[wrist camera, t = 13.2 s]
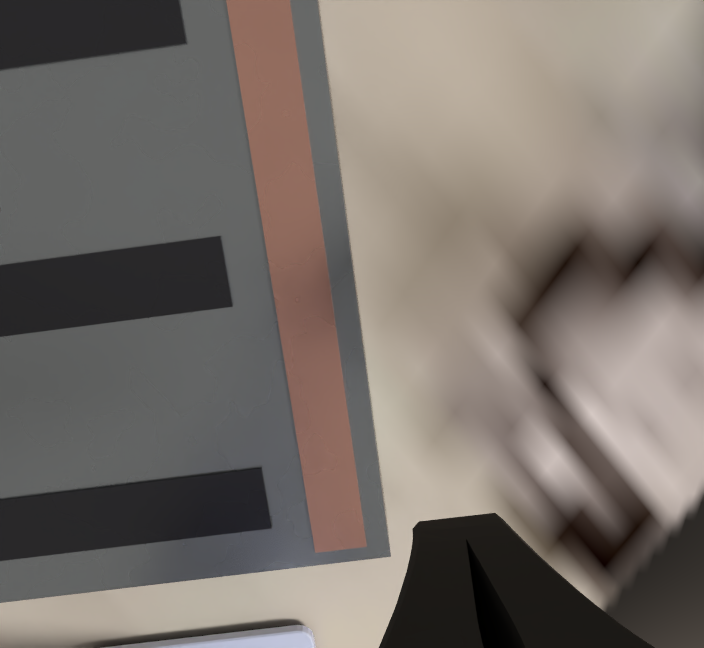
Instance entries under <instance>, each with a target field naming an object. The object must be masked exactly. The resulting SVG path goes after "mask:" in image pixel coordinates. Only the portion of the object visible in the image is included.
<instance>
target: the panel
mask: <svg viewBox="0 0 704 648" xmlns="http://www.w3.org/2000/svg"><path fill="white" fill-rule="evenodd" d="M382 557H391V554H390V544H389V535H388V526H387V519H386V511H385V503H384V496H383V488H382V481H381V473H380V465H379V458H378V450H377V443H376V435H375V428H374V420H373V412H372V405H371V397H370V390H369V382H368V374H367V367H366V359H365V352H364V344H363V336H362V329H361V321H360V314H359V306H358V298H357V291H356V283H355V276H354V268H353V260H352V253H351V245H350V238H349V230H348V222H347V215H346V207H345V200H344V192H343V184H342V177H341V169H340V162H339V154H338V146H337V139H336V131H335V124H334V116H333V108H332V101H331V93H330V86H329V78H328V70H327V63H326V55H325V48H324V40H323V32H322V25H321V17H320V10H319V2H318V0H0V603H2V602H11V601H19V600H27V599H36V598H44V597H53V596H61V595H70V594H78V593H87V592H95V591H104V590H112V589H120V588H129V587H137V586H146V585H154V584H163V583H171V582H180V581H188V580H196V579H205V578H213V577H222V576H230V575H239V574H247V573H256V572H264V571H273V570H281V569H289V568H298V567H306V566H315V565H323V564H332V563H340V562H349V561H357V560H365V559H374V558H382Z"/></svg>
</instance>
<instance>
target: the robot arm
mask: <svg viewBox="0 0 704 648" xmlns="http://www.w3.org/2000/svg"><path fill="white" fill-rule="evenodd" d="M102 648H316V645H315V640H314V635H313V632H312V631H311V630H310V629H309V628H308V627H306V626H304V625H292V626H283V627H275V628H266V629H257V630H249V631H240V632H232V633H223V634H214V635H206V636H197V637H188V638H180V639H171V640H163V641H154V642H145V643H137V644H128V645H119V646H111V647H102ZM379 648H654V647H653V646H651V645H650V644H648V643H647V642H645V641H644V640H642V639H641V638H639V637H638V636H636V635H635V634H633V633H632V632H631V631H629V630H628V629H626V628H625V627H623V626H622V625H621V624H619V623H618V622H617V621H616V620H614V619H613V618H612V617H610V616H609V615H608V614H607V613H605V612H604V611H603V610H601V609H600V608H599V607H598V606H596V605H595V604H594V603H593V602H591V601H590V600H589V599H588V598H586V597H585V596H584V595H583V594H582V593H580V592H579V591H578V590H577V589H576V588H575V587H573V586H572V585H571V584H570V583H569V582H568V581H567V580H566V579H564V578H563V577H562V576H561V575H560V574H559V573H558V572H556V571H555V570H554V569H553V568H552V567H551V566H550V565H549V564H548V563H546V562H545V561H544V560H543V559H542V558H541V557H540V556H539V555H538V554H537V553H536V552H535V551H534V550H533V549H532V548H531V547H530V546H529V545H528V544H527V543H526V542H525V541H524V540H523V539H522V538H521V537H519V535H518V534H517V533H516V532H515V531H514V530H513V529H512V528H511V527H510V526H509V525H508V524H507V523H506V522H505V521H504V520H503V519H502V518H501V517H499V516H498V515H497V514H496V513H491V514H482V515H473V516H464V517H455V518H447V519H438V520H429V521H420V522H418V523H417V525H416V526H415V527H414V528H413V543H412V550H411V556H410V560H409V564H408V568H407V573H406V576H405V579H404V582H403V585H402V589H401V592H400V595H399V598H398V601H397V604H396V607H395V610H394V612H393V615H392V617H391V620H390V622H389V624H388V627H387V629H386V632H385V634H384V637H383V639H382V642H381V644H380V646H379Z"/></svg>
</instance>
